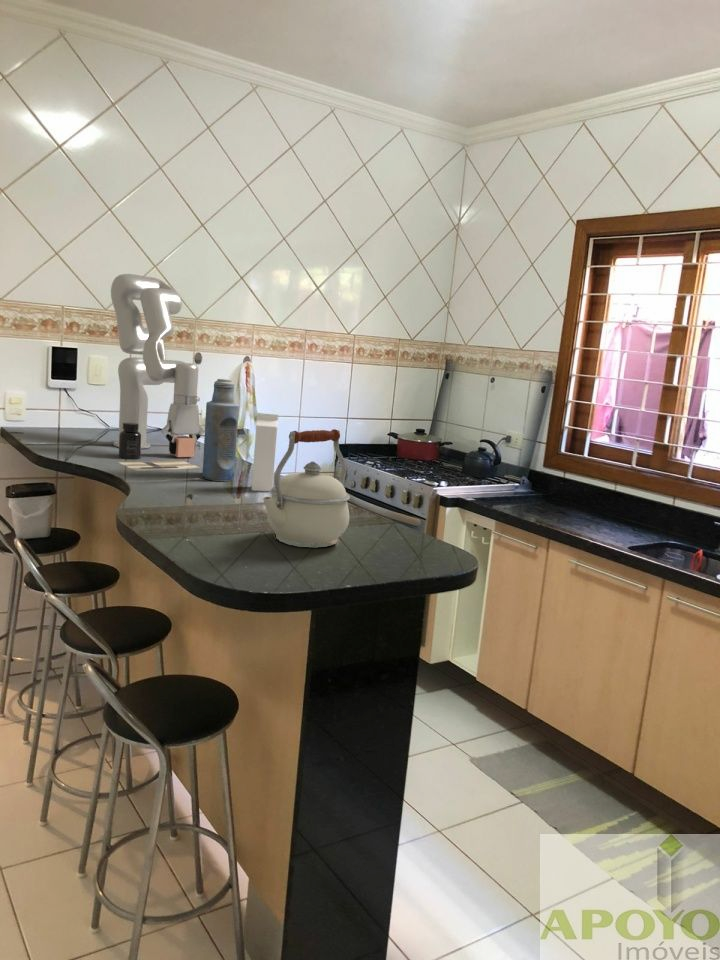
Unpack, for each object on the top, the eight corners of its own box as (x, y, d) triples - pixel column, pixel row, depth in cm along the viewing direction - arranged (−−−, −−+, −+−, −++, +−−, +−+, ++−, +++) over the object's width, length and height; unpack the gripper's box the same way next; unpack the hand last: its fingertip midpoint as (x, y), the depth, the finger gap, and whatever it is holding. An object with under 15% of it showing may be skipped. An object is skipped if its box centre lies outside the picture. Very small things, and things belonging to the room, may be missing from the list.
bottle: (211, 482, 226) (218, 380, 220) (196, 475, 233) (202, 376, 228) (240, 481, 232) (247, 381, 226) (223, 474, 239) (230, 378, 234)
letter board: (116, 464, 238) (117, 461, 238) (181, 462, 252) (181, 460, 252) (135, 473, 228) (135, 470, 228) (202, 470, 242) (202, 468, 242)
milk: (272, 492, 220) (278, 416, 216) (251, 490, 220) (256, 414, 216) (272, 488, 226) (278, 413, 222) (252, 486, 226) (257, 411, 221)
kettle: (309, 525, 186) (318, 423, 181) (368, 543, 175) (379, 434, 170) (231, 539, 167) (238, 425, 162) (291, 560, 155) (301, 438, 151)
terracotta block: (169, 453, 259) (170, 436, 258) (185, 453, 263) (186, 436, 262) (177, 457, 254) (178, 439, 253) (194, 456, 258) (195, 439, 257)
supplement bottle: (143, 459, 251) (145, 423, 249) (135, 462, 244) (137, 425, 242) (123, 457, 252) (124, 421, 250) (114, 460, 245) (116, 423, 243)
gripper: (202, 399, 264) (199, 451, 267) (155, 398, 253) (153, 452, 256) (213, 402, 258) (210, 455, 261) (165, 401, 247) (162, 456, 250)
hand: (181, 453), depth 258 cm, fingers closed on terracotta block, 6 cm apart
